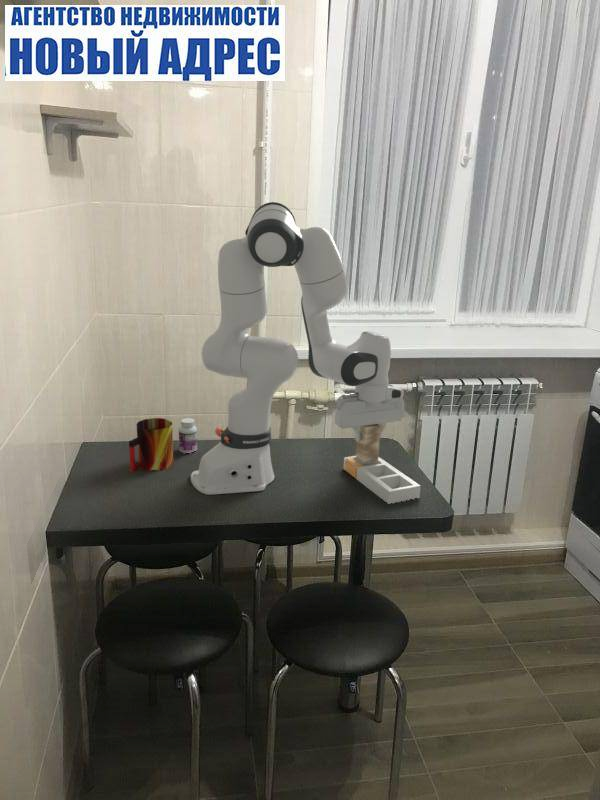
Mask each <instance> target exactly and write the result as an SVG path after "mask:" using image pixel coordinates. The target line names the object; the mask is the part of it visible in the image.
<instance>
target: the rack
mask: <svg viewBox="0 0 600 800" xmlns="http://www.w3.org/2000/svg"><path fill="white" fill-rule="evenodd" d="M343 470H344V471H346V472H347V473H348V474H350V476H352V477H354V479H356V480H357V481H358V482H359V483H361V484H362V485H364V486H365V487H366V488H367V489H369V491H371V492H372V493H374V494H375V495H376V496H377V497H378V498H380V499H381V500H382V499H383V500H382V501H384V502H385V503H386V502H387V503H386V504H388V505H391V503H392V504H395V503H396V502H397V503H402V502H406V500H407V501H411V500H410V499H412V500H416V499H415V498H417V499H420V497H421V484H419V483H417V482H416V481H415V480H414V479H412V478H410V477H409V476H407V475H405V474H404V473H403V472H402V471H400V470H398V469H397V468H396V467H394V466H393V465H391V464H390V463H388V462H387V461H385V460H384V459H383V458H381V457H379V456H378V460H374V461H368V462H363V461H362V460H360V459H359V458H358V457H356V455H351V456H346V457H344V458H343ZM401 501H402V502H401Z"/></svg>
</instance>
